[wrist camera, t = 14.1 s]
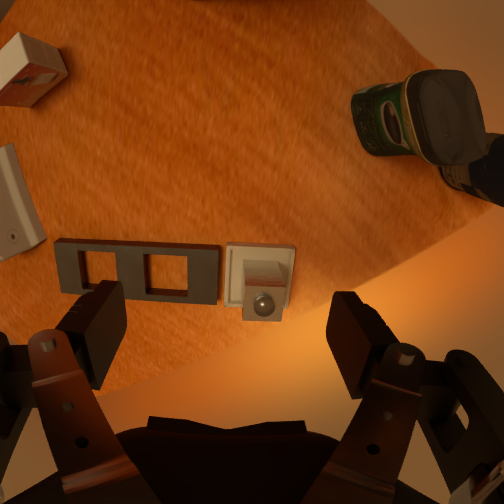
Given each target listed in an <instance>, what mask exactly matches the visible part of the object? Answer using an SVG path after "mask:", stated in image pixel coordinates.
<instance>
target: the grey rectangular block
mask: <svg viewBox="0 0 504 504" xmlns="http://www.w3.org/2000/svg"><path fill="white" fill-rule="evenodd" d="M285 291H286V286H285V283H284V280H283V277H282V275H281V272H280V269H279V266H278V263H277V261H270V260H249V259H243V263H242V277H241V303H242V318H243V321H281V319H282V312H283V305H284V298H285Z"/></svg>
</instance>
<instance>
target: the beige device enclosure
mask: <svg viewBox="0 0 504 504" xmlns="http://www.w3.org/2000/svg"><path fill="white" fill-rule="evenodd" d="M46 238H47V236H46V234H45V232H44V229H43V227H42V225H41V222H40V220H39V217H38V215H37V212H36V210H35V207H34V205H33V202H32V199H31V197H30V194H29V191H28V189H27V186H26V183H25V180H24V177H23V174H22V171H21V168H20V165H19V162H18V159H17V155H16V152H15V149H14V145H13V143H11V144H8V145H5V146H3V147H1V148H0V262H2V261H5V260H7V259H9V258H11V257H13V256H16V255H18V254H20V253H22V252H25V251H27V250H29V249H32V248H34V247H36V246H37V245H38V244H39V243H40V242H42V241H43V240H45V239H46Z"/></svg>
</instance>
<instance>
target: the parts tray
mask: <svg viewBox="0 0 504 504" xmlns="http://www.w3.org/2000/svg"><path fill="white" fill-rule="evenodd" d="M295 250H296V249H295V247H294V245H279V244H260V243H240V242H227V249H226V270H225V293H224V307H242V303H241V277H242V263H243V259H249V260H270V261H277V263H278V266H279V269H280V272H281V275H282V277H283V280H284V283H285V286H286V291H285V298H284V305H283V308H287V309H288V302H289V295H290V288H291V281H292V273H293V265H294V258H295Z"/></svg>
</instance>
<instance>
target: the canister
mask: <svg viewBox="0 0 504 504" xmlns="http://www.w3.org/2000/svg"><path fill="white" fill-rule="evenodd" d="M439 167H440V171H441V174H442V176H443V178H444V180H445V181H446V182H447V184H448V185H449V186H451V187H452V188H454V189H456V190H459V191H463V192H466V193H468V194H470V195H473V196H475V197H478V198H480V199H483V200H485V201H489V202H491V203H494V204H496V205H499V206H501V207H504V134H497V133H486V147H485V152H484V156H483V157H482V158H480V159H478V160H476V161H473V162H470V163H467V164H463V165H456V166H439Z"/></svg>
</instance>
